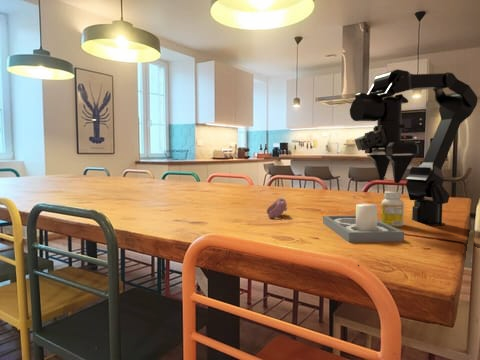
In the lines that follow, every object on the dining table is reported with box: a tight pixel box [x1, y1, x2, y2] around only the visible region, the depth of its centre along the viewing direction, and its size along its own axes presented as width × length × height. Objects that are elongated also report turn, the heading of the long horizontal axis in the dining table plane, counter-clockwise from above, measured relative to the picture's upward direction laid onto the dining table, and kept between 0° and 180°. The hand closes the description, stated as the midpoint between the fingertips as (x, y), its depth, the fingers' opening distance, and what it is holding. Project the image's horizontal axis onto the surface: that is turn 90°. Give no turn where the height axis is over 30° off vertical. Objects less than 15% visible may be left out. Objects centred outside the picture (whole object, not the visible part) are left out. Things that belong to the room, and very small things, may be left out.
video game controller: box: [266, 197, 288, 219], centre depth 110 cm, size 10×5×7 cm, turn 179°
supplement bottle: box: [380, 190, 405, 228], centre depth 90 cm, size 5×5×10 cm
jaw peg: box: [355, 203, 379, 231], centre depth 79 cm, size 5×5×7 cm
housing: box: [322, 214, 405, 243], centre depth 83 cm, size 12×20×3 cm, turn 2°
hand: (388, 181), depth 90 cm, fingers open, 9 cm apart
